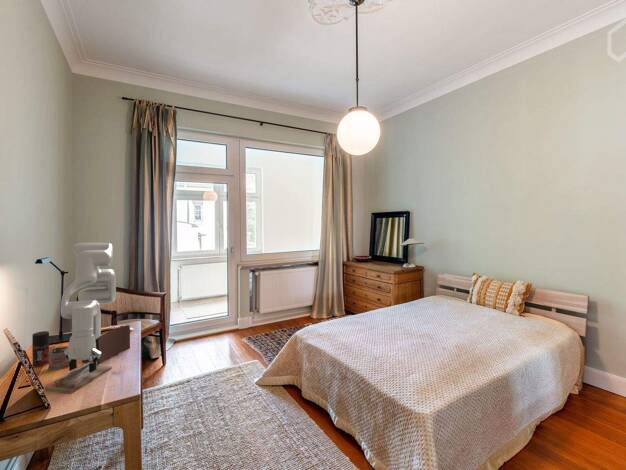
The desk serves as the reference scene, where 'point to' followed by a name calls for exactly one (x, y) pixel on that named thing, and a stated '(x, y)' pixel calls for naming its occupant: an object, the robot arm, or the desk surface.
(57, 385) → the tongs fixed
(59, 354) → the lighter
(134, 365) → the desk surface
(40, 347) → the deodorant
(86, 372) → the tongs arm
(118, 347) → the letter holder
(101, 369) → the board
